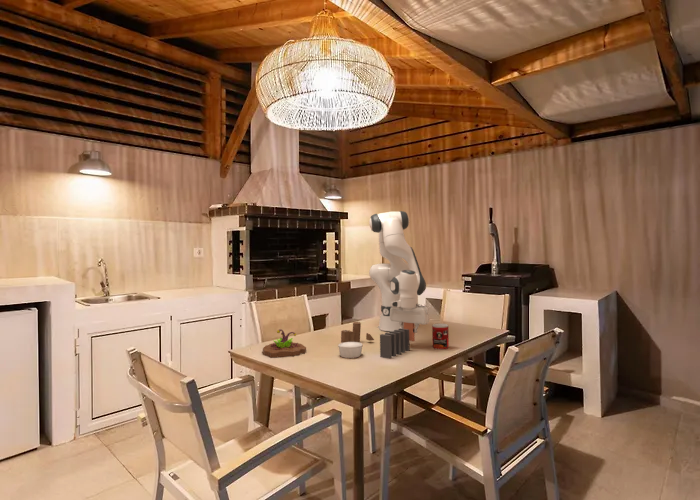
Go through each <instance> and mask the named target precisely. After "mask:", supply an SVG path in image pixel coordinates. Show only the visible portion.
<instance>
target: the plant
mask: <svg viewBox="0 0 700 500" xmlns="http://www.w3.org/2000/svg"><path fill="white" fill-rule="evenodd" d="M280 332H281V334H280ZM276 333H277V334H280V335H282V337H279V339H278V338H276V340H275V339H273V340H272V341H273V342H272V343H269V344H267V345H265V346H264V347H262V354H263V355H264V356H267V357H269V358H271V359H273V358H287V357H295V356H301V354H306V353H307V347H306V346H305V345H304V344H302V343H299V342H294V341H293V339H294V338H293V337H292V338H289V336H290V335H291V334H293V336H294V337H296V336H297V333H296V332H294V331H291V332H289V333H287V335H286V334H285V331H284V330H283V329H281V328H280V329H278V330H277V331H276Z"/></svg>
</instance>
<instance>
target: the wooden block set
mask: <svg viewBox="0 0 700 500" xmlns="http://www.w3.org/2000/svg"><path fill="white" fill-rule="evenodd" d="M361 325H362V323H361V322H360V321H353V322H352V330H350V329H349V330H347V329H343V330H341V331H340V333H341V334H340V335H341V336H340V343H344V342H359V343H361V327H362V326H361ZM365 337H366V338H365V340H367V341H375V339H374V337H373V336H372V334H371V333H369V332H366V335H365Z"/></svg>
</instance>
